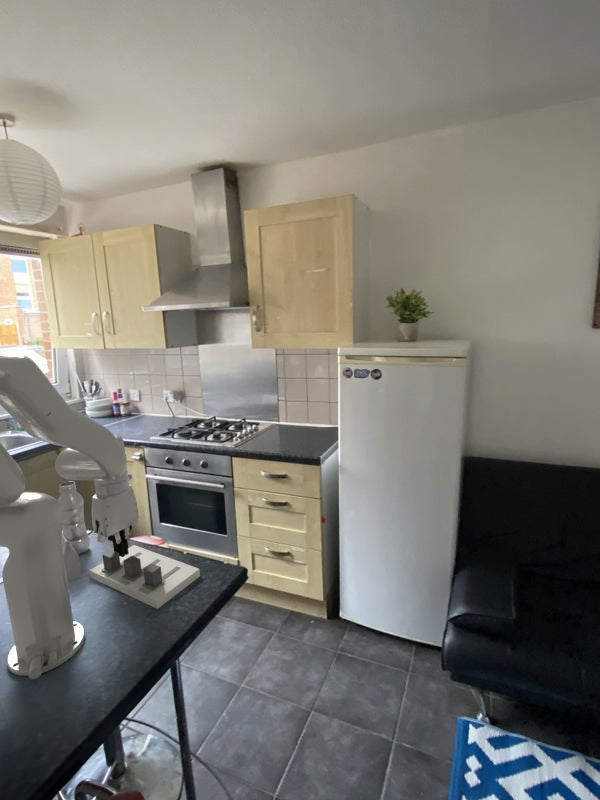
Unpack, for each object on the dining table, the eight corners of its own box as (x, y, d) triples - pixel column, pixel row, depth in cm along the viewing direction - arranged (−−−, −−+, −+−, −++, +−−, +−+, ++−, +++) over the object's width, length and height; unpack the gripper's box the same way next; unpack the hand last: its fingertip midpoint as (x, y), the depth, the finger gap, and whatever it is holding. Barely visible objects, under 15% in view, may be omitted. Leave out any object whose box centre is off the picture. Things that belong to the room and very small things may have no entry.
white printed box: (74, 565, 106) (68, 529, 104) (81, 576, 101) (75, 539, 99) (58, 571, 104) (52, 534, 102) (64, 582, 99) (58, 545, 97)
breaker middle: (144, 573, 97) (143, 557, 97) (132, 581, 94) (130, 565, 94) (134, 569, 99) (133, 554, 98) (122, 577, 96) (120, 561, 95)
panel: (200, 576, 99) (199, 568, 99) (157, 608, 88) (156, 600, 88) (134, 551, 111) (134, 544, 111) (90, 577, 100) (89, 569, 100)
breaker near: (165, 581, 94) (163, 565, 93) (152, 590, 91) (150, 574, 90) (154, 577, 96) (152, 561, 95) (141, 585, 93) (140, 569, 92)
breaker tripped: (123, 566, 100) (121, 551, 100) (110, 574, 97) (108, 559, 97) (114, 562, 102) (112, 548, 101) (101, 570, 99) (99, 555, 98)
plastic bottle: (96, 548, 113) (87, 480, 110) (74, 561, 107) (63, 490, 104) (80, 544, 116) (70, 477, 112) (58, 556, 110) (47, 486, 106)
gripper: (128, 472, 107) (137, 536, 110) (73, 495, 94) (84, 566, 98) (148, 477, 103) (156, 543, 107) (93, 501, 90) (104, 575, 94)
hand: (121, 554), depth 102 cm, fingers closed
